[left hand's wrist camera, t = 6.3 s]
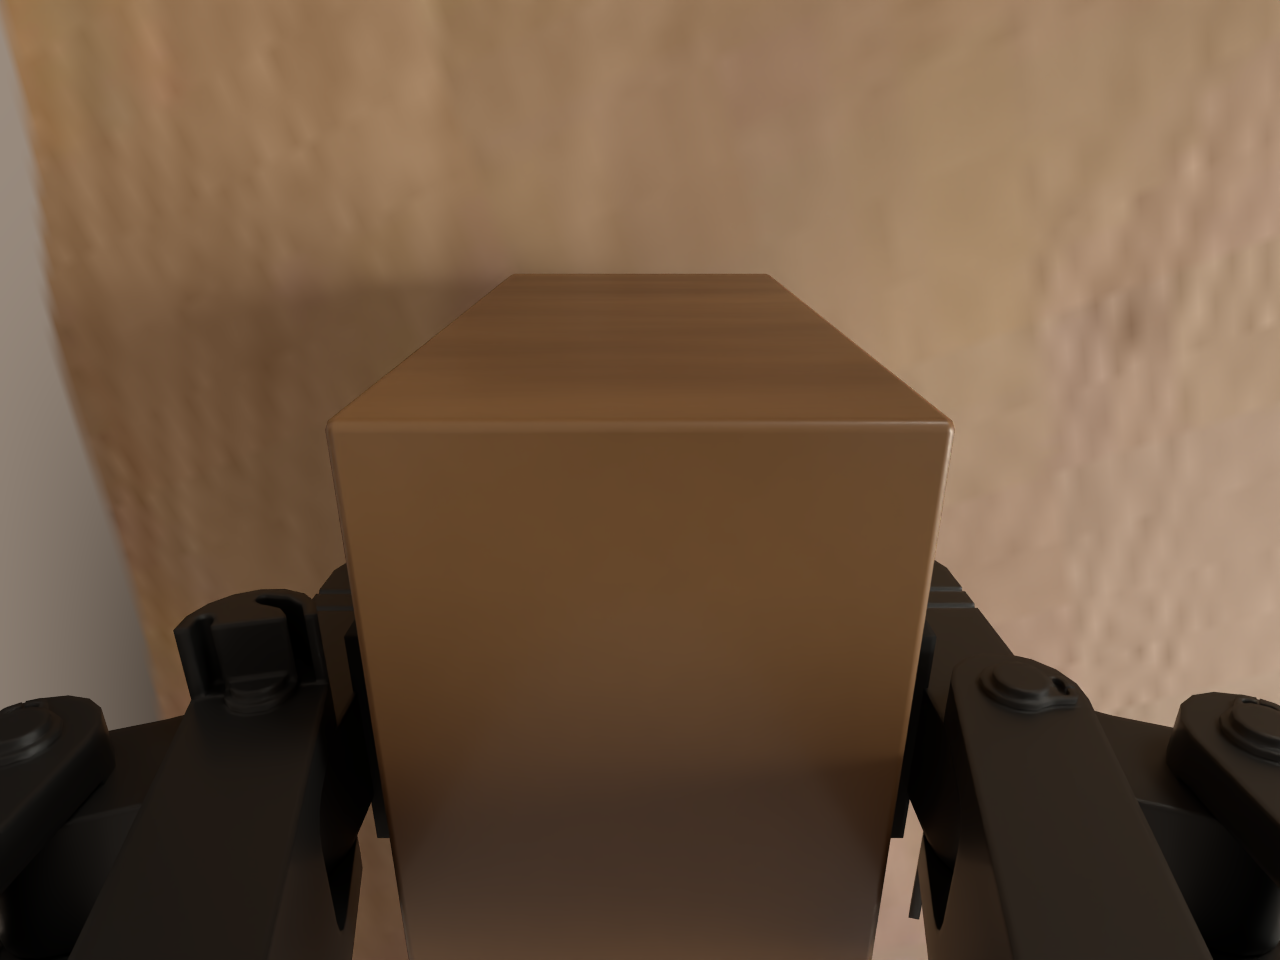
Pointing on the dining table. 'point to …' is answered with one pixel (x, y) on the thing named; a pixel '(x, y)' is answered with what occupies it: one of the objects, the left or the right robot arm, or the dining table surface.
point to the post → (640, 619)
